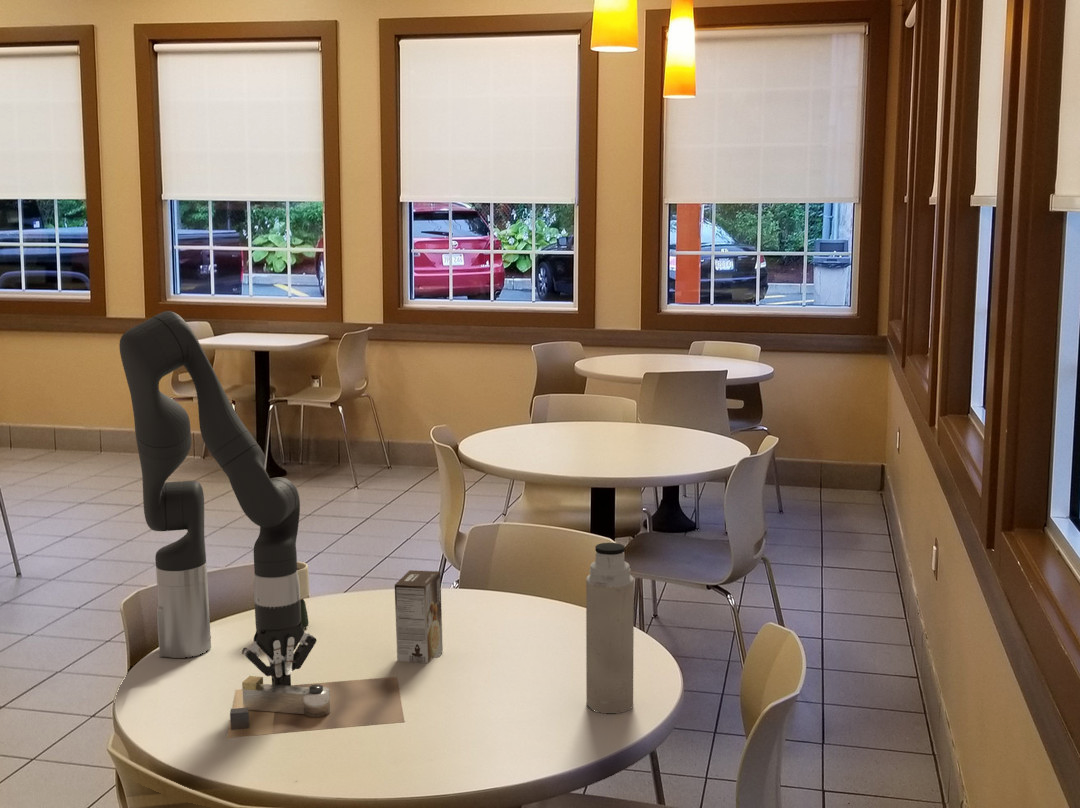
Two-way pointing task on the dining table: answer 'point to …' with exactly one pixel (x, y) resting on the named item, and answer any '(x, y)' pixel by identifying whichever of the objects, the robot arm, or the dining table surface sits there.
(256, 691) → the latch bar
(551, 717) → the dining table surface
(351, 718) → the door board
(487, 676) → the dining table surface
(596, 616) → the thermos bottle
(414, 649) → the coffee box
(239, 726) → the block
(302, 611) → the character mug
